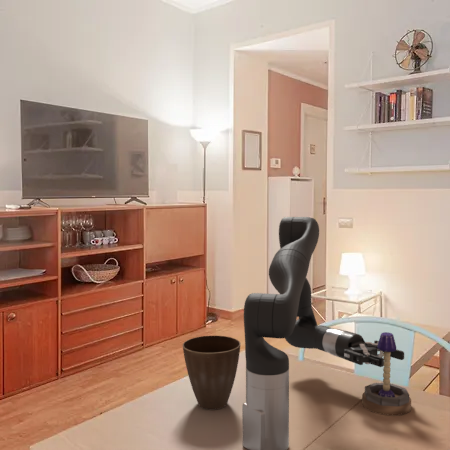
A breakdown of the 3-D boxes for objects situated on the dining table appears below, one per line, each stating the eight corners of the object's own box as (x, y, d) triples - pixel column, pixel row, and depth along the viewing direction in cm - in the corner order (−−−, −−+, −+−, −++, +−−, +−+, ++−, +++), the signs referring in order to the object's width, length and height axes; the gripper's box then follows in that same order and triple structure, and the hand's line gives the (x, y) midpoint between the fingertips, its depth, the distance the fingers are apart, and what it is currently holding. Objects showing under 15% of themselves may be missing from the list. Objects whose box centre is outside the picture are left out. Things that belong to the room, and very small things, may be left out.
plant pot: (206, 422, 122) (206, 356, 121) (172, 402, 134) (171, 342, 132) (252, 405, 132) (252, 344, 130) (216, 388, 143) (216, 332, 142)
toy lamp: (396, 401, 128) (397, 336, 127) (377, 400, 129) (378, 335, 128) (394, 394, 133) (395, 331, 132) (375, 393, 134) (376, 330, 133)
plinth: (392, 419, 123) (392, 404, 122) (352, 403, 132) (352, 389, 132) (420, 406, 130) (421, 392, 130) (381, 392, 139) (381, 378, 139)
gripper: (325, 335, 137) (376, 350, 124) (359, 326, 146) (410, 339, 133) (325, 362, 138) (375, 380, 125) (359, 352, 146) (409, 367, 133)
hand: (393, 359), depth 129 cm, fingers open, 8 cm apart
